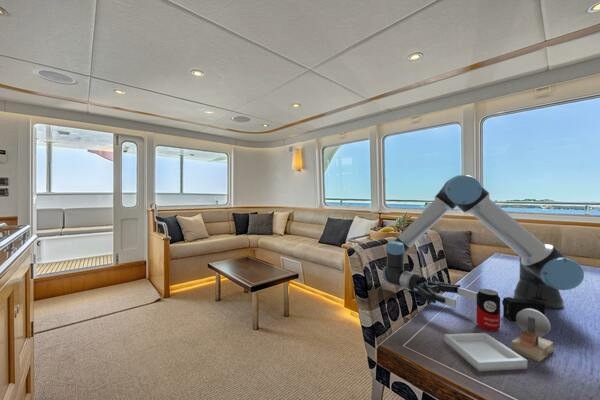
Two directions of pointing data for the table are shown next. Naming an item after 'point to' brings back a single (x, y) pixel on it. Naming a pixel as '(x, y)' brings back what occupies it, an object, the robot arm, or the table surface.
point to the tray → (485, 352)
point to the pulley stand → (532, 335)
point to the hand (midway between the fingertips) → (466, 300)
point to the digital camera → (519, 307)
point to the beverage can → (488, 309)
